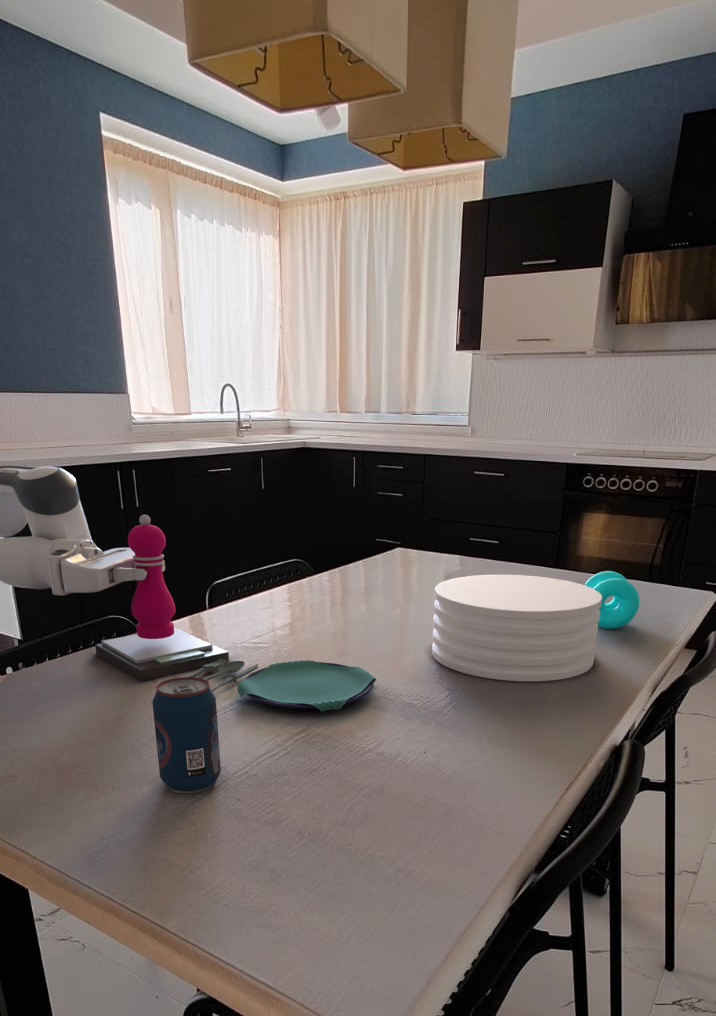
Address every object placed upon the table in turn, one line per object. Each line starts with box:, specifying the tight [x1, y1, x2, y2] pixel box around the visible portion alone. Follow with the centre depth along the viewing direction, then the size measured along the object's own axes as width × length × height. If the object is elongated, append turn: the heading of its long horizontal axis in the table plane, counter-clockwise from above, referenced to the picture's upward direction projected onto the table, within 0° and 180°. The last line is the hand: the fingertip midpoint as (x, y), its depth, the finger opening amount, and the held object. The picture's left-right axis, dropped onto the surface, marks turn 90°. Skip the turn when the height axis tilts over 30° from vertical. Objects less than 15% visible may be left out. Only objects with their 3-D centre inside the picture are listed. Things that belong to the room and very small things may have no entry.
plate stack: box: [431, 574, 602, 682], centre depth 134 cm, size 28×28×12 cm
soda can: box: [152, 676, 222, 794], centre depth 87 cm, size 7×7×12 cm
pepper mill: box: [127, 514, 176, 639], centre depth 128 cm, size 7×7×20 cm
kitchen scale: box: [94, 627, 230, 682], centre depth 132 cm, size 18×16×2 cm
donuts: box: [584, 570, 640, 630], centre depth 154 cm, size 10×10×10 cm
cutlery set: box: [184, 659, 377, 712], centre depth 119 cm, size 20×30×2 cm, turn 66°
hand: (154, 570), depth 128 cm, fingers closed on pepper mill, 5 cm apart
